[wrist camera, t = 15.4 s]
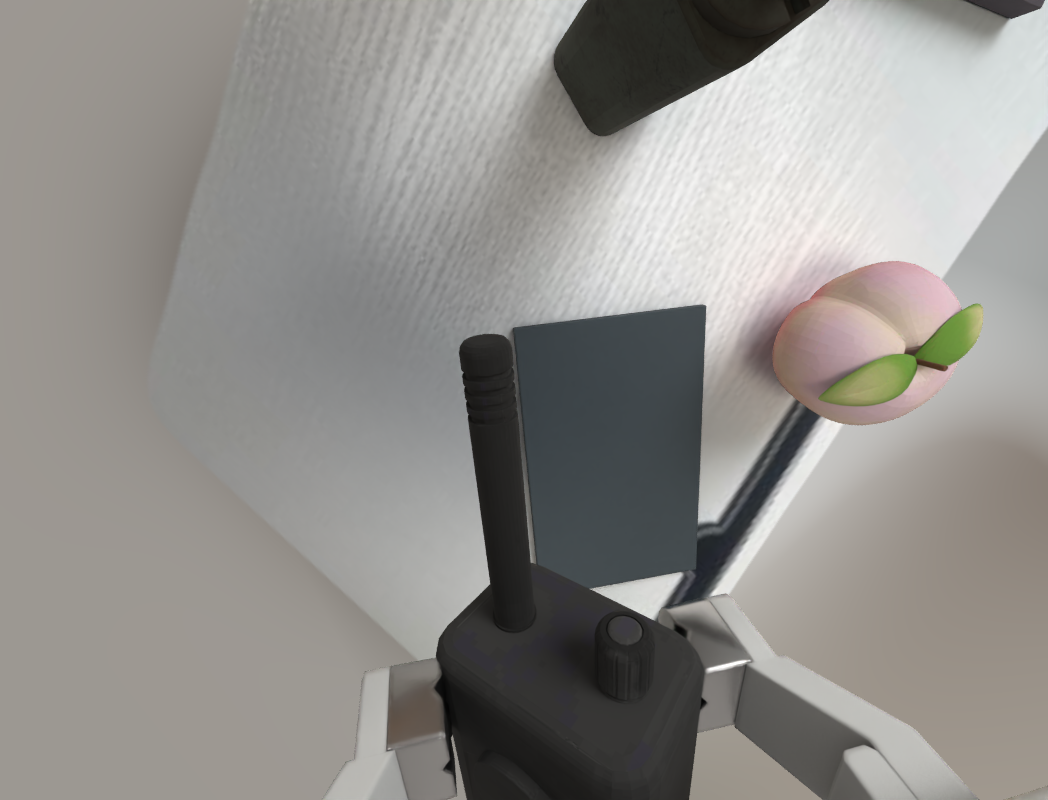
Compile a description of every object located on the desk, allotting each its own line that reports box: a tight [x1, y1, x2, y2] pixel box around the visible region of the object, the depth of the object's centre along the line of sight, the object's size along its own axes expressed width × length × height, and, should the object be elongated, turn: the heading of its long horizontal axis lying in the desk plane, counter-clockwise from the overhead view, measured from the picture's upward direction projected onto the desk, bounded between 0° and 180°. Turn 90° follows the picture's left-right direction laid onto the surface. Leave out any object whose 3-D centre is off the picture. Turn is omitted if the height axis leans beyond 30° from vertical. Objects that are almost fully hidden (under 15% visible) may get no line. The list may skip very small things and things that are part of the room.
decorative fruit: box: [772, 261, 983, 425], centre depth 28 cm, size 9×8×10 cm
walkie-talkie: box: [436, 334, 705, 800], centre depth 10 cm, size 5×3×15 cm
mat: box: [513, 305, 706, 589], centre depth 34 cm, size 20×12×1 cm, turn 5°
